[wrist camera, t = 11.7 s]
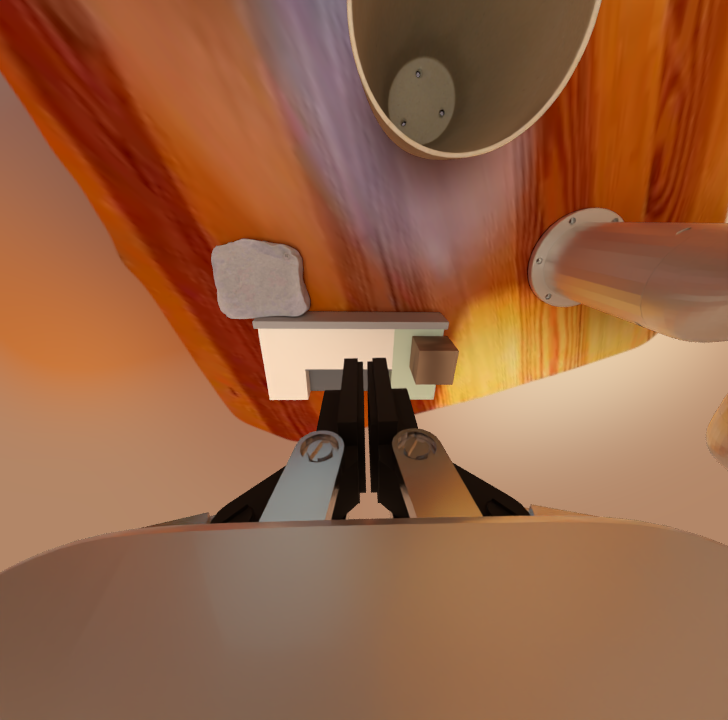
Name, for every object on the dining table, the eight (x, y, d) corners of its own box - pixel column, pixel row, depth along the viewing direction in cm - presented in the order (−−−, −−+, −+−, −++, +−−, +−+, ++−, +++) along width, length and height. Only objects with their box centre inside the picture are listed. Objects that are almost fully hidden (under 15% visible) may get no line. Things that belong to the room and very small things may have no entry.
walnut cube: (447, 336, 40) (458, 351, 35) (442, 366, 42) (452, 384, 37) (412, 335, 39) (419, 350, 35) (409, 366, 42) (415, 384, 37)
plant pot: (506, 12, 27) (667, -211, 13) (469, 188, 34) (551, 166, 20) (354, -6, 27) (353, -264, 12) (348, 178, 33) (342, 148, 19)
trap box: (439, 312, 41) (448, 322, 37) (429, 389, 47) (435, 404, 43) (262, 311, 40) (252, 321, 36) (274, 389, 46) (267, 405, 42)
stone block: (218, 244, 38) (231, 317, 41) (200, 239, 33) (216, 322, 36) (305, 240, 38) (312, 312, 41) (299, 234, 34) (308, 316, 37)
